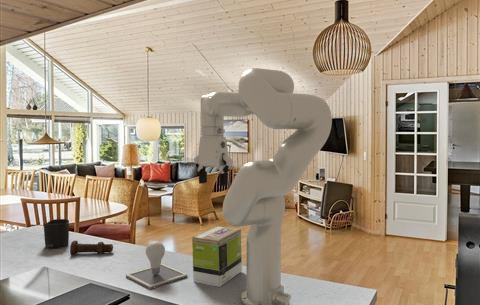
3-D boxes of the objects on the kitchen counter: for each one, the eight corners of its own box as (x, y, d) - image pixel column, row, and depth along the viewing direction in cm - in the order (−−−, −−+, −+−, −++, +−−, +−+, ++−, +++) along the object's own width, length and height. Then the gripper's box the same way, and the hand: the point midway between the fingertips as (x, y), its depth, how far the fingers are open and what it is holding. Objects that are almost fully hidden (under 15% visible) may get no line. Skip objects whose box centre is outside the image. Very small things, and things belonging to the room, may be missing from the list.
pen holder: (41, 245, 163) (40, 221, 163) (65, 241, 169) (64, 218, 169) (47, 250, 156) (47, 225, 155) (72, 246, 162) (72, 222, 161)
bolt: (111, 258, 153) (71, 258, 151) (114, 248, 157) (74, 248, 155) (110, 247, 150) (68, 247, 148) (113, 238, 154) (72, 237, 152)
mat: (187, 276, 129) (187, 274, 129) (150, 289, 119) (150, 286, 119) (162, 266, 138) (162, 263, 138) (125, 277, 128) (125, 274, 128)
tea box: (216, 267, 138) (216, 225, 137) (242, 272, 133) (242, 228, 132) (191, 282, 124) (191, 235, 124) (219, 288, 120) (219, 239, 119)
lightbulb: (161, 278, 125) (161, 244, 125) (143, 278, 126) (142, 243, 125) (168, 272, 131) (167, 239, 131) (150, 271, 132) (149, 238, 132)
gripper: (239, 132, 128) (239, 185, 129) (202, 132, 140) (203, 181, 141) (223, 132, 123) (223, 187, 124) (186, 133, 134) (187, 183, 135)
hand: (213, 184), depth 132 cm, fingers open, 9 cm apart
